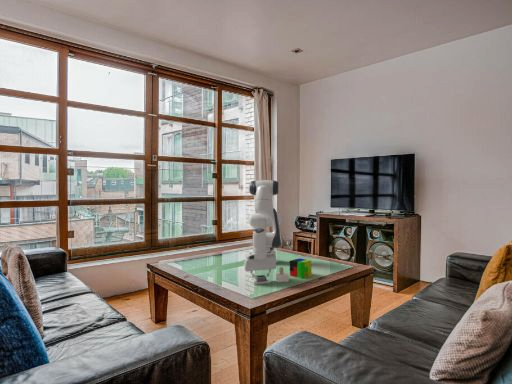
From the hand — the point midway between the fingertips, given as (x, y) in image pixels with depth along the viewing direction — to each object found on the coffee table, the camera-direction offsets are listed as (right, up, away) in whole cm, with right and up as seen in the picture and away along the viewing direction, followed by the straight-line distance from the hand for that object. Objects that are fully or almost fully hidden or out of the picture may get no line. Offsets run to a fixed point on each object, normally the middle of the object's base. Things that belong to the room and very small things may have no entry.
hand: (260, 276), depth 209 cm
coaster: (0, -3, 0) cm, 3 cm away
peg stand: (+13, -2, +1) cm, 13 cm away
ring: (0, -2, 0) cm, 2 cm away
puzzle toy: (+27, -2, +10) cm, 29 cm away
